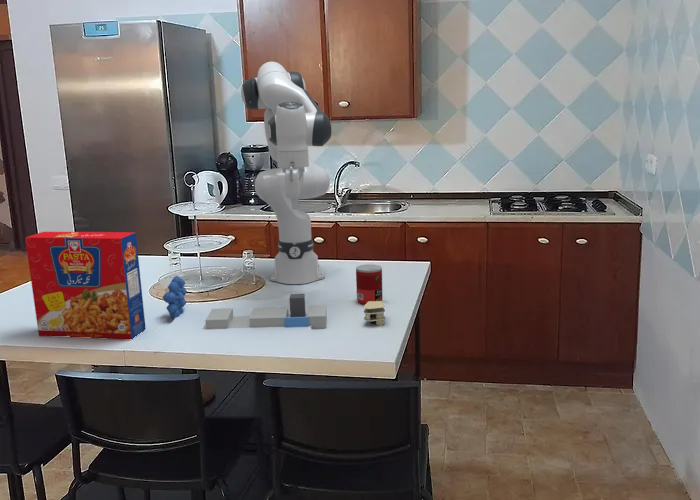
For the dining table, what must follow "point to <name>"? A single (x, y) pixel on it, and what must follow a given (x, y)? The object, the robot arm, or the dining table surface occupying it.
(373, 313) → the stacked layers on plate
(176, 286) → the grapes
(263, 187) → the robot arm
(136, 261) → the pasta box
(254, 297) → the dining table surface
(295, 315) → the dark grey rectangular box
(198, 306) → the dining table surface
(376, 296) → the canned food
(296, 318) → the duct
